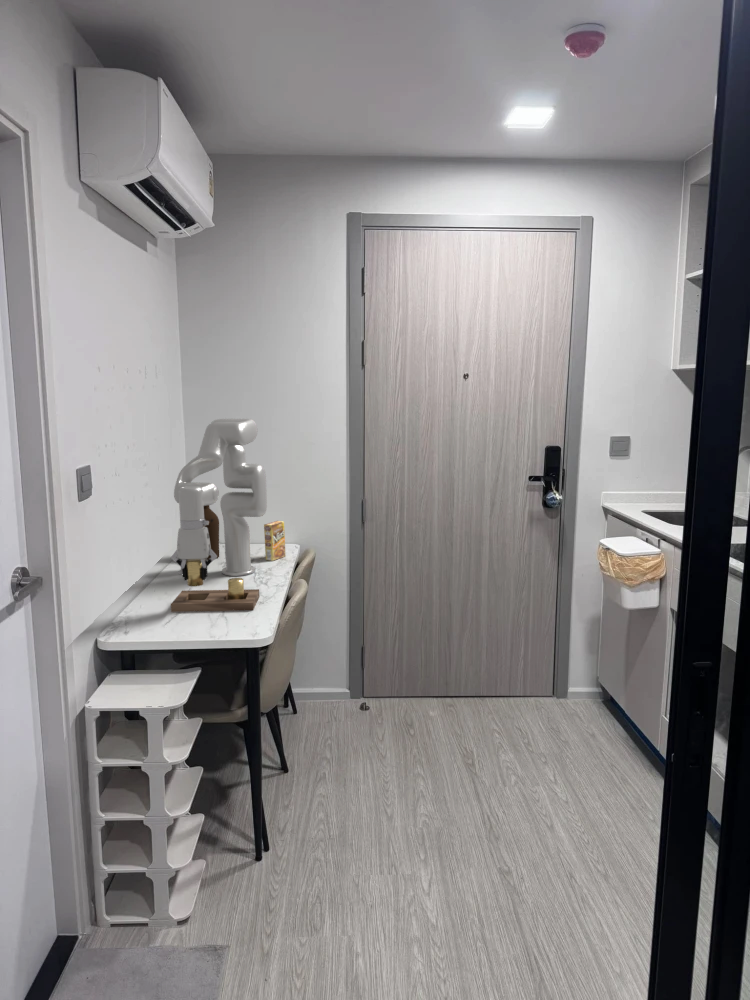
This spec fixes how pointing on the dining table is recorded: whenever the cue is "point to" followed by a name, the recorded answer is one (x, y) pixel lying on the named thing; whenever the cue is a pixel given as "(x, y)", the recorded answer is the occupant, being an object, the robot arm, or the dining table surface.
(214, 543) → the olive oil
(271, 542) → the candy box
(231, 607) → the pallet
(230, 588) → the seated billet
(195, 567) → the billet
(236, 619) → the dining table surface
